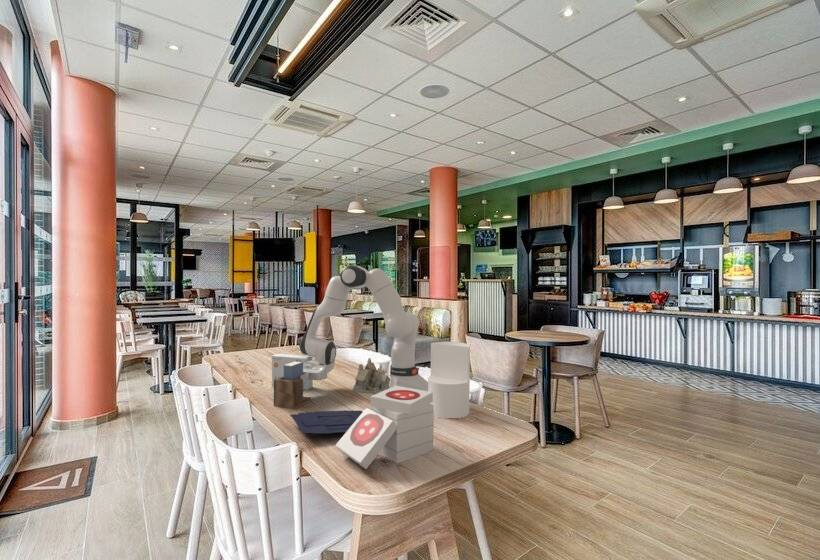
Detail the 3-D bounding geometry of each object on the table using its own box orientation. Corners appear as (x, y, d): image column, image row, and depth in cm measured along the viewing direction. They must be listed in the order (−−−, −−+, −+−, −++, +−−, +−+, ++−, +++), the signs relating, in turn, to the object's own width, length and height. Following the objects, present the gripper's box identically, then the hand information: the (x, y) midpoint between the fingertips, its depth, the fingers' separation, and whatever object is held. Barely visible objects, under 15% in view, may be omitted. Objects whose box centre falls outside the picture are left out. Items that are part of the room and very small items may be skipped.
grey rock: (348, 389, 201) (350, 359, 201) (373, 384, 213) (375, 355, 213) (368, 397, 190) (371, 366, 190) (393, 392, 202) (396, 362, 202)
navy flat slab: (287, 420, 155) (288, 410, 155) (360, 416, 170) (361, 408, 170) (303, 443, 134) (304, 432, 134) (384, 437, 148) (386, 427, 148)
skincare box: (271, 386, 206) (271, 355, 206) (277, 383, 211) (277, 353, 211) (307, 390, 200) (307, 358, 200) (313, 387, 205) (313, 356, 205)
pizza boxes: (332, 455, 128) (332, 398, 127) (407, 432, 146) (407, 383, 146) (364, 479, 113) (364, 415, 113) (443, 451, 131) (443, 395, 131)
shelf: (311, 400, 183) (311, 375, 183) (294, 408, 172) (294, 381, 171) (290, 398, 187) (290, 373, 187) (273, 405, 175) (273, 379, 175)
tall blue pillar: (303, 395, 183) (303, 362, 182) (292, 400, 175) (292, 365, 175) (294, 394, 184) (294, 361, 184) (283, 399, 177) (283, 365, 176)
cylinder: (439, 402, 181) (439, 340, 181) (475, 409, 172) (476, 343, 172) (420, 414, 166) (420, 346, 166) (459, 422, 157) (459, 350, 157)
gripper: (293, 362, 196) (274, 368, 183) (329, 365, 189) (313, 372, 176) (293, 374, 196) (274, 382, 183) (329, 378, 189) (313, 386, 176)
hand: (293, 377), depth 180 cm, fingers open, 5 cm apart
